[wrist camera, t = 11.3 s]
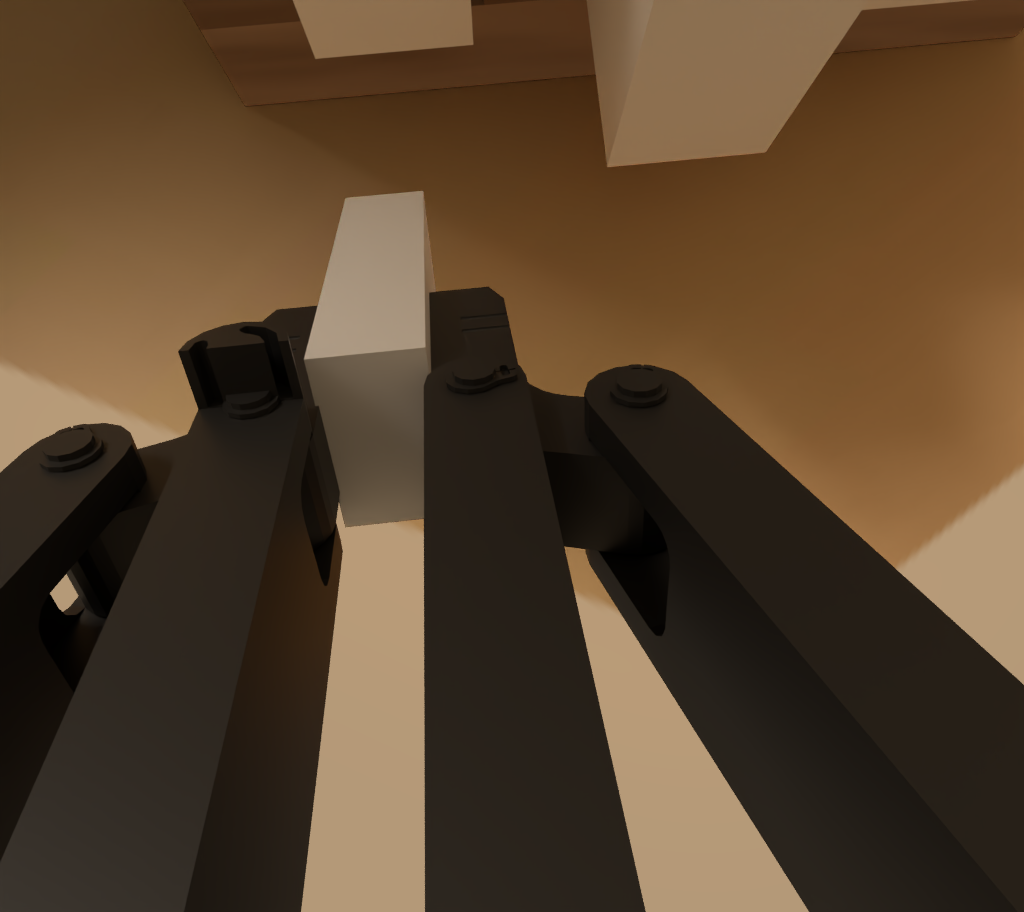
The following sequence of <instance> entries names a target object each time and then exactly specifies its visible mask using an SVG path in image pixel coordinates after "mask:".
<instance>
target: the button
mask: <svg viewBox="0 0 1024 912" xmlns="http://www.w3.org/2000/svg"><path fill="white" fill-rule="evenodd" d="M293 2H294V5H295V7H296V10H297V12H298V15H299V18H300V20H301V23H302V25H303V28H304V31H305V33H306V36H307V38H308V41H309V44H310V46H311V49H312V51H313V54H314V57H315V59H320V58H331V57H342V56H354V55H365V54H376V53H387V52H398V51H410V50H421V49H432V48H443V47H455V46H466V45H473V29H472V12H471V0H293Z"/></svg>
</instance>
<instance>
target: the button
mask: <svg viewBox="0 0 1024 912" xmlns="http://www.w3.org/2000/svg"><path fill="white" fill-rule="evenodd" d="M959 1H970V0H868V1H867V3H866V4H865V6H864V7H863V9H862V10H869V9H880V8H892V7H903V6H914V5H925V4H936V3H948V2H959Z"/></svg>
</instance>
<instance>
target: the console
mask: <svg viewBox="0 0 1024 912" xmlns="http://www.w3.org/2000/svg"><path fill="white" fill-rule="evenodd" d="M183 2H184V3H185V5H186V7H187V8H188V10H189V12H190V14H191V15H192V17H193V19H194V20H195V22H196V24H197V25H198V27H199V29H200V31H201V32H202V34H203V36H204V37H205V39H206V41H207V42H208V44H209V46H210V48H211V49H212V51H213V53H214V54H215V56H216V58H217V59H218V61H219V63H220V65H221V66H222V68H223V70H224V71H225V73H226V75H227V76H228V78H229V80H230V82H231V83H232V85H233V87H234V88H235V90H236V92H237V93H238V95H239V97H240V99H241V100H242V102H243V104H244V105H245V106H253V105H264V104H275V103H286V102H297V101H308V100H319V99H330V98H341V97H353V96H364V95H375V94H386V93H397V92H408V91H419V90H430V89H441V88H452V87H463V86H474V85H485V84H496V83H507V82H518V81H530V80H541V79H552V78H563V77H574V76H585V75H596V73H595V64H594V56H593V48H592V40H591V32H590V24H589V16H588V8H587V0H471V12H472V29H473V45H466V46H455V47H443V48H432V49H421V50H410V51H398V52H387V53H376V54H365V55H354V56H342V57H331V58H320V59H315V57H314V54H313V51H312V49H311V46H310V44H309V41H308V38H307V36H306V33H305V31H304V28H303V25H302V23H301V20H300V18H299V15H298V12H297V10H296V7H295V5H294V2H293V0H183ZM1023 28H1024V0H970V1H959V2H948V3H936V4H925V5H914V6H903V7H892V8H880V9H869V10H861V12H860V13H859V15H858V16H857V18H856V19H855V21H854V22H853V24H852V25H851V27H850V28H849V30H848V31H847V33H846V34H845V36H844V37H843V39H842V40H841V41H840V43H839V44H838V46H837V47H836V49H835V50H834V52H833V53H839V52H850V51H861V50H873V49H884V48H895V47H906V46H917V45H928V44H939V43H950V42H961V41H972V40H983V39H994V38H1005V37H1015V36H1016V35H1017V34H1018V33H1019V32H1020V31H1021V30H1022V29H1023Z"/></svg>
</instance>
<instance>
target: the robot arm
mask: <svg viewBox="0 0 1024 912" xmlns="http://www.w3.org/2000/svg"><path fill="white" fill-rule="evenodd" d="M178 352H179V355H180V358H181V361H182V364H183V367H184V369H185V372H186V375H187V378H188V381H189V384H190V386H191V389H192V392H193V395H194V398H195V401H196V403H197V406H198V409H199V410H198V412H197V414H196V416H195V419H194V421H193V423H192V426H191V428H190V430H189V432H188V434H187V435H185V436H182V437H179V438H176V439H173V440H169V441H166V442H162V443H159V444H156V445H151V446H148V447H145V448H141V449H137V447H136V445H135V443H134V440H133V438H132V436H131V433H130V432H129V431H127V430H126V429H124V428H123V427H121V426H118V425H113V424H107V423H101V424H82V425H77V426H73V428H71V427H68V428H65V429H62V430H59V431H57V432H56V433H55V434H53V435H51V436H49V437H46V438H44V439H42V440H40V441H39V442H37V443H36V444H34V445H33V446H31V447H30V448H29V449H27V450H26V451H24V452H23V453H22V454H21V455H20V456H18V457H17V458H16V459H15V460H14V461H13V462H12V463H11V464H10V465H8V466H7V467H6V468H5V469H4V470H3V471H2V472H1V473H0V912H301V906H302V898H303V888H304V879H305V872H306V863H307V855H308V846H309V837H310V829H311V820H312V812H313V802H314V794H315V786H316V777H317V768H318V760H319V751H320V742H321V733H322V724H323V716H324V708H325V699H326V691H327V682H328V673H329V665H330V656H331V648H332V639H333V630H334V622H335V613H336V604H337V596H338V587H339V579H340V570H341V561H342V552H343V551H342V545H341V540H340V536H339V532H338V528H337V524H336V518H337V510H338V503H340V507H341V511H342V515H343V520H344V524H345V527H352V526H361V525H370V524H379V523H388V522H398V521H407V520H416V519H424V655H425V656H424V657H425V658H424V670H425V672H424V679H425V680H424V681H425V683H424V686H425V912H646V911H645V907H644V902H643V898H642V894H641V889H640V885H639V881H638V876H637V871H636V867H635V862H634V858H633V853H632V849H631V844H630V840H629V835H628V831H627V826H626V822H625V817H624V813H623V808H622V804H621V799H620V795H619V790H618V786H617V782H616V777H615V772H614V768H613V764H612V759H611V755H610V750H609V746H608V741H607V737H606V732H605V728H604V723H603V719H602V714H601V710H600V706H599V701H598V696H597V692H596V687H595V683H594V678H593V674H592V669H591V665H590V661H589V656H588V652H587V648H586V643H585V638H584V634H583V629H582V625H581V620H580V616H579V611H578V607H577V602H576V598H575V593H574V589H573V584H572V580H571V575H570V571H569V566H568V562H567V557H566V553H565V548H564V546H566V547H574V548H581V549H586V554H587V558H588V561H589V564H590V565H591V567H592V569H593V570H594V572H595V573H596V575H597V577H598V578H599V580H600V581H601V583H602V584H603V586H604V588H605V589H606V591H607V592H608V594H609V596H610V597H611V599H612V600H613V602H614V603H615V605H616V607H617V608H618V610H619V611H620V613H621V615H622V616H623V618H624V619H625V621H626V622H627V624H628V626H629V627H630V629H631V630H632V632H633V634H634V635H635V637H636V638H637V640H638V641H639V643H640V645H641V646H642V648H643V649H644V651H645V652H646V654H647V656H648V657H649V659H650V660H651V662H652V664H653V665H654V667H655V668H656V670H657V671H658V673H659V675H660V676H661V678H662V679H663V681H664V683H665V684H666V686H667V687H668V689H669V690H670V692H671V694H672V695H673V697H674V698H675V700H676V702H677V703H678V705H679V706H680V708H681V709H682V711H683V712H684V714H685V716H686V717H687V719H688V721H689V722H690V724H691V725H692V727H693V728H694V730H695V732H696V733H697V735H698V736H699V738H700V739H701V741H702V743H703V744H704V746H705V747H706V749H707V751H708V752H709V754H710V755H711V757H712V758H713V760H714V762H715V763H716V765H717V766H718V768H719V770H720V771H721V773H722V774H723V776H724V778H725V779H726V781H727V782H728V784H729V785H730V787H731V789H732V790H733V792H734V793H735V795H736V796H737V798H738V800H739V801H740V802H741V804H742V806H743V808H744V809H745V811H746V812H747V814H748V816H749V817H750V819H751V820H752V822H753V823H754V825H755V827H756V828H757V830H758V831H759V833H760V834H761V836H762V838H763V839H764V841H765V842H766V844H767V846H768V847H769V849H770V850H771V852H772V854H773V855H774V857H775V858H776V860H777V861H778V863H779V865H780V866H781V868H782V869H783V871H784V873H785V874H786V876H787V877H788V879H789V880H790V882H791V884H792V885H793V887H794V888H795V890H796V892H797V893H798V895H799V896H800V898H801V899H802V901H803V902H804V904H805V906H806V907H807V909H808V911H809V912H1024V685H1023V684H1022V683H1021V682H1020V681H1019V680H1018V679H1017V678H1016V677H1014V676H1013V675H1012V674H1011V673H1010V672H1009V671H1008V670H1007V669H1006V668H1004V667H1003V666H1002V665H1001V664H1000V663H999V662H998V661H997V660H996V659H995V658H993V657H992V656H991V655H990V654H989V653H988V652H987V651H986V650H985V649H984V648H982V647H981V646H980V645H979V644H978V643H977V642H976V641H975V640H974V639H972V638H971V637H970V636H969V635H968V634H967V633H966V632H965V631H964V630H962V629H961V628H960V627H959V626H958V625H957V624H956V623H955V622H953V620H951V619H950V618H949V617H948V616H947V615H946V614H945V613H944V612H943V611H942V610H940V609H939V608H938V607H937V606H936V605H935V604H934V603H933V602H932V601H930V600H929V599H928V598H927V597H926V596H925V595H924V594H923V593H922V592H920V591H919V590H918V589H917V588H916V587H915V586H914V585H913V584H912V583H911V582H910V581H908V580H907V579H906V578H905V577H904V576H903V575H902V574H901V573H900V572H898V571H897V570H896V569H895V568H894V567H893V566H892V565H891V564H890V563H889V562H887V561H886V560H885V559H884V558H883V557H882V556H881V555H880V554H879V553H877V552H876V551H875V550H874V549H873V548H872V547H871V546H870V545H869V544H868V543H866V542H865V541H864V540H863V539H862V538H861V537H860V536H859V535H858V534H856V533H855V532H854V531H853V530H852V529H851V528H850V527H849V526H848V525H847V524H845V523H844V522H843V521H842V520H841V519H840V518H839V517H838V516H837V515H835V514H834V513H833V512H832V511H831V510H830V509H829V508H828V507H827V506H826V505H824V504H823V503H822V502H821V501H820V500H819V499H818V498H817V497H816V496H814V495H813V494H812V493H811V492H810V491H809V490H808V489H807V488H806V487H805V486H803V485H802V484H801V483H800V482H799V481H798V480H797V479H796V478H795V477H793V476H792V475H791V474H790V473H789V472H788V471H787V470H786V469H785V468H784V467H782V466H781V465H780V464H779V463H778V462H777V461H776V460H775V459H774V458H773V457H771V456H770V455H769V454H768V453H767V452H766V451H765V450H764V449H763V448H761V447H760V446H759V445H758V444H757V443H756V442H755V441H754V440H753V439H752V438H750V437H749V436H748V435H747V434H746V433H745V432H744V431H743V430H742V429H740V428H739V427H738V426H737V425H736V424H735V423H734V422H733V421H732V420H731V419H729V418H728V417H727V416H726V415H725V414H724V413H723V412H722V411H721V410H719V409H718V408H717V407H716V406H715V405H714V404H713V403H712V402H711V401H710V400H708V399H707V398H706V397H705V396H704V395H703V394H702V393H701V392H700V391H698V390H697V389H696V388H695V387H694V386H693V385H692V384H691V383H690V382H689V381H687V380H686V379H684V378H683V377H681V376H679V375H678V374H676V373H675V372H673V371H669V370H665V369H662V368H658V367H655V366H651V365H644V366H641V365H629V366H624V367H616V368H613V369H610V370H607V371H605V372H602V373H599V374H598V375H597V376H595V377H594V378H593V379H592V380H590V381H589V382H588V384H587V387H586V390H585V393H584V397H577V396H566V395H559V394H553V393H550V392H546V391H543V390H540V389H538V388H536V387H534V386H532V385H530V384H529V383H528V382H527V378H526V375H525V373H524V372H523V370H522V368H521V367H520V366H519V365H518V362H517V358H516V353H515V349H514V344H513V339H512V335H511V330H510V327H509V321H508V316H507V312H506V307H505V303H504V298H503V297H501V296H500V295H499V294H497V293H496V292H495V291H493V290H492V289H491V288H489V287H481V288H471V289H461V290H450V291H440V292H436V287H435V279H434V271H433V263H432V255H431V248H430V240H429V232H428V224H427V216H426V208H425V200H424V192H423V191H415V192H404V193H393V194H382V195H371V196H360V197H349V198H345V202H344V206H343V210H342V214H341V218H340V221H339V225H338V229H337V233H336V237H335V241H334V245H333V249H332V252H331V256H330V260H329V264H328V268H327V272H326V276H325V280H324V283H323V287H322V291H321V295H320V299H319V303H318V306H310V307H300V308H290V309H280V310H276V311H275V312H273V313H272V314H271V315H270V316H269V317H267V318H266V319H265V320H264V321H263V322H241V323H236V324H230V325H225V326H221V327H218V328H215V329H212V330H209V331H206V332H203V333H201V334H200V335H198V336H196V337H194V338H193V339H191V340H189V341H187V342H186V344H185V345H184V346H183V347H182V348H181V349H180V350H179V351H178ZM66 574H67V576H68V577H69V579H70V581H71V582H72V585H73V586H74V588H75V590H76V592H77V594H78V595H79V596H78V598H77V599H76V600H75V601H74V603H73V604H72V605H71V606H70V607H69V608H68V609H66V610H65V611H64V612H62V611H61V610H60V609H59V608H58V607H57V605H56V603H55V602H54V600H53V598H52V596H51V595H50V592H51V591H52V590H53V589H54V587H55V586H56V585H57V584H58V583H59V582H60V581H61V579H62V578H63V577H64V576H65V575H66Z"/></svg>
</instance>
